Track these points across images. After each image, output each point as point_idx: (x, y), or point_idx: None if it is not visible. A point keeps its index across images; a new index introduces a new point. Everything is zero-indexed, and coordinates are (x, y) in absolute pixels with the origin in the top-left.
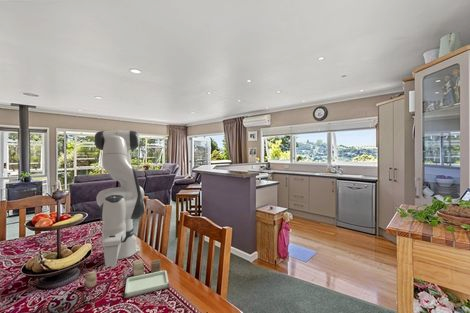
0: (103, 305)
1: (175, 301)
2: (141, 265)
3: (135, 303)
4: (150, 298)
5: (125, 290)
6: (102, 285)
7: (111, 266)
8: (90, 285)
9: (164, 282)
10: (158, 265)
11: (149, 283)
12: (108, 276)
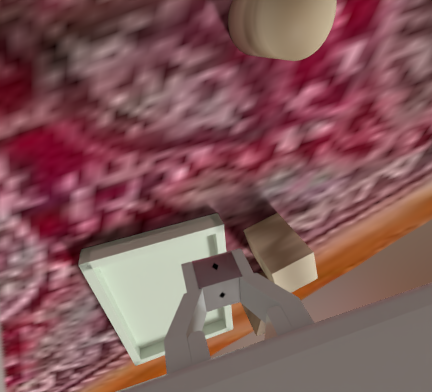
0: (16, 178)
1: (47, 388)
2: (271, 281)
3: (36, 298)
4: (70, 328)
5: (106, 257)
6: (225, 101)
7: (182, 269)
8: (232, 25)
9: (162, 337)
10: (253, 323)
11: (168, 301)
12: (307, 104)
